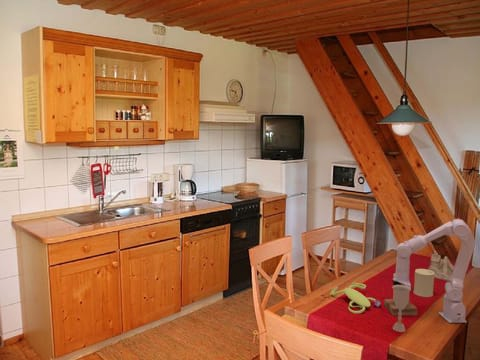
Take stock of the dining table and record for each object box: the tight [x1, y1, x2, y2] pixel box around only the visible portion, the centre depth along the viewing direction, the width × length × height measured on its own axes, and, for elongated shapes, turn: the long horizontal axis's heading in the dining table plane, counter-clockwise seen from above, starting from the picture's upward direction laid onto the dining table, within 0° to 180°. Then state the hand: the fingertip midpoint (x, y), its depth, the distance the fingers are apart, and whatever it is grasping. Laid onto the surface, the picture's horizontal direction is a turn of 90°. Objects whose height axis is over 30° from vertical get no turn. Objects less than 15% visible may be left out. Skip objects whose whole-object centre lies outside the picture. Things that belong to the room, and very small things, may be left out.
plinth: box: [383, 298, 418, 316], centre depth 197 cm, size 11×11×3 cm
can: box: [413, 268, 435, 298], centre depth 216 cm, size 9×9×12 cm
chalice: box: [392, 285, 412, 333], centre depth 178 cm, size 7×7×18 cm
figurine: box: [329, 282, 382, 315], centre depth 206 cm, size 18×27×6 cm
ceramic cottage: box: [427, 250, 455, 281], centre depth 243 cm, size 16×16×15 cm
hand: (400, 297), depth 196 cm, fingers open, 5 cm apart
